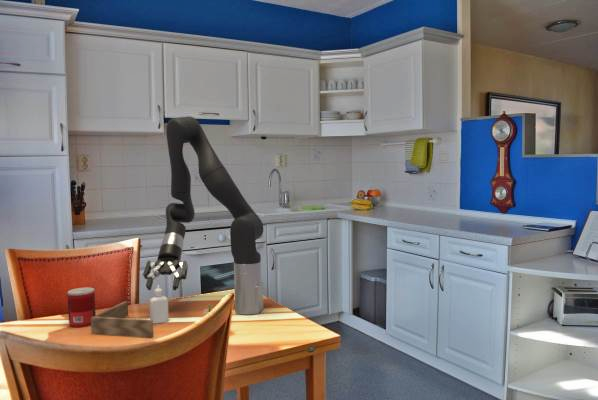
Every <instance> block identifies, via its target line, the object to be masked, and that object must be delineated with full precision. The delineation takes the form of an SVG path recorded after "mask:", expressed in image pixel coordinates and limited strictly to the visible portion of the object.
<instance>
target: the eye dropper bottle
mask: <svg viewBox="0 0 598 400" xmlns="http://www.w3.org/2000/svg"><path fill="white" fill-rule="evenodd" d="M169 318H170V317H169V299H168V297H167V296H165V295H163V289H162V288H161V286H160V285H159V284H158V285H156V288H155V289H154V296H153V297H151V298H150V299H149V320H153V325H154V324H155V325H156V324H157V325H159V324H163V323H167V322H169Z"/></svg>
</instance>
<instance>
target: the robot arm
mask: <svg viewBox="0 0 598 400" xmlns="http://www.w3.org/2000/svg"><path fill="white" fill-rule="evenodd" d="M165 127H166V129H165V130H166V132H165V133H166V135H165V136H166V142H167V149H168V150H167V151H168V156H169V163H170V172H171V173H170V175H171V176H170V179H171V180H170V181H171V182H170V195H171V196H170V197H171V198H174V199H176V200H178V201H180V202H182V203H177V202H171V203H169V204H168V205H167V206H166V208H165V217H166V218H165V220H166V224H165V225H166V226H165V231H164V235H163V237H162V240H161V243H160V248H159V251H158V255H157V260H156V261H155V262H151V260H148V261H147V262H146V264H145V267H144V270H143V273H142V276H143V278H144V279H145V280H146V284H145V287H146V289H147V290H148V291H151V290H152V288H153V284H154V280H155V279H156V278H158V277H159V276H160V275H162V276H164V275H166V276H167V275H168V276H171V275H173V276H174V279H173V283H172V290H173V291H176V290H177V289H179V286H180V282H181V280H186V279H187V275H188V268H189V265H188V262H187V261H186V260H184V261H181V256H182V252H183V249H184V241H185V236H186V230H187V227H186V226H185V225H184V224H183V223H185V224H189V223H192V222H193V220H194V219H195V216H196V215H195V208H194V205H193V201H192V195H191V187H192V186H191V185H192V184H191V183H192V176H191V172H190V170H189V167H188V164H186V161H185V159H184V152H183V149H184V145H185V144H189V145H190V146H191V147H192V148H193V150H194V152H195V154H196V157H197V159H198V175H199V178H200V180H201V182H202V183H203V185H204V186H205V188H206V190H207V191H208V192H209V194H210V195H211V196H212V197H213V198H214V199H215V200H217V201H218V202H219V203H220V204H221V205H223V206H224V207H225V208H226V209H227V210H228V212H229V213H230V214H231V216H232V217H233V221H232V222H231V224H230V228H229V233H230V234H229V236H230V237H229V238H230V250H231V255H232V257H233V280H234V282H233V285H234V287H233V288H234V312H235V313H236V314H238V315H246V316H247V315H258V314H260V313H261V312H262V311H263V310H264V282H263V281H262V266H261V265H262V261H261V259H262V258H261V253H260V252H259V251H258V250H257V245H256V243H257V242H256V241H257V240H259V239H260V238H261V237H262V236H263V233H264V224H263V221H262V220H261V218H260V217H259V216H258V213H256V211H255V210H254V209H253V208H252V206H251V205H250V204H249V203H248V202H247V200H246V199H245V197H244V196H243V194H242V192H241V191H240V189H239V188H238V186H237V185H236V183H235V182H234V180H233V178H232V176H231V175H230V173H229V172H228V170H227V169H226V167H225V165H224V164H223V162H221V160H220V159H219V156H218V155H217V153H216V152H215V149H214V148H213V147H212V145H211V143H210V141H209V139H208V137H207V135H206V133H205V131H204V129H203V127H202V125H201V124H200V122H199V121H198V120H197V119H196V118H195V117H192V116H181V117H179V116H178V117H173V118H170V119H169V120H168V122H167V124H166V126H165ZM180 261H181V262H180ZM179 268H181V273H180V274H179V273H178V271H177V270H178V269H179Z"/></svg>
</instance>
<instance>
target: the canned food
mask: <svg viewBox="0 0 598 400" xmlns="http://www.w3.org/2000/svg"><path fill="white" fill-rule="evenodd" d="M95 293H96V292H95V288H93V287H88V286H86V287H78V288H77V287H76V288H72V289H70V290H68V291H67V310H68V313H67V315H68V324H69V326H70V327H72V328H84V327H89V326H91V317H93V316H95V315H97V314H96V294H95Z"/></svg>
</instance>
